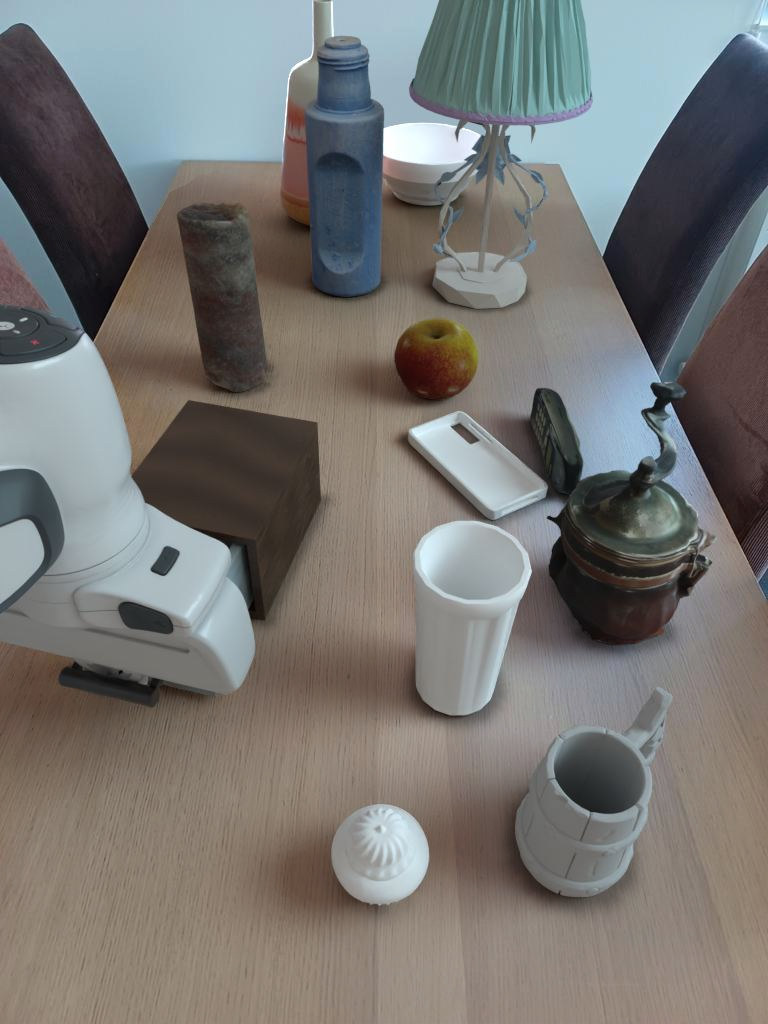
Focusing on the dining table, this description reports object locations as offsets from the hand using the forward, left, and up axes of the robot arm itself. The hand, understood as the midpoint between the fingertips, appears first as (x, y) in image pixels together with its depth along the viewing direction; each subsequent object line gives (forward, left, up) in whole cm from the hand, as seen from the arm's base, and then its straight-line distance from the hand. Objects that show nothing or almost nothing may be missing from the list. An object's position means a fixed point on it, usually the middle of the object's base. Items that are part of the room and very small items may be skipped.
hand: (125, 686), depth 59 cm
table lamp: (+14, +75, -4) cm, 76 cm away
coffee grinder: (+34, +22, -4) cm, 41 cm away
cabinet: (0, +19, -4) cm, 19 cm away
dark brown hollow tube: (-10, +45, -4) cm, 46 cm away
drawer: (0, +7, -3) cm, 8 cm away
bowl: (0, +105, -4) cm, 105 cm away
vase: (-13, +91, -4) cm, 92 cm away
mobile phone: (+28, +39, -4) cm, 48 cm away
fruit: (+13, +49, -4) cm, 51 cm away
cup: (+23, +9, -4) cm, 25 cm away
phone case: (+20, +36, -4) cm, 41 cm away
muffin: (+21, -7, -4) cm, 22 cm away
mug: (+34, 0, -4) cm, 34 cm away
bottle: (-4, +71, -4) cm, 71 cm away
